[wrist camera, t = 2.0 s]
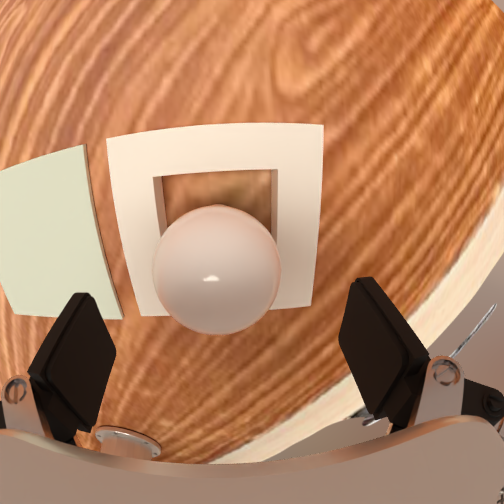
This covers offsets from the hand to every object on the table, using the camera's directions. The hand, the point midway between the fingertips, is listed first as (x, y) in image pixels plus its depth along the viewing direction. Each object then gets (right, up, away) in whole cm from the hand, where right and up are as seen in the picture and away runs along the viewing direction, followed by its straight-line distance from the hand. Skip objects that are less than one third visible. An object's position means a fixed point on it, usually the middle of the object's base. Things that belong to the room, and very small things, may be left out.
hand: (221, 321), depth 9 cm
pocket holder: (-1, +5, +11) cm, 12 cm away
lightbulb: (-1, +5, +11) cm, 13 cm away
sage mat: (-19, +3, +10) cm, 22 cm away
